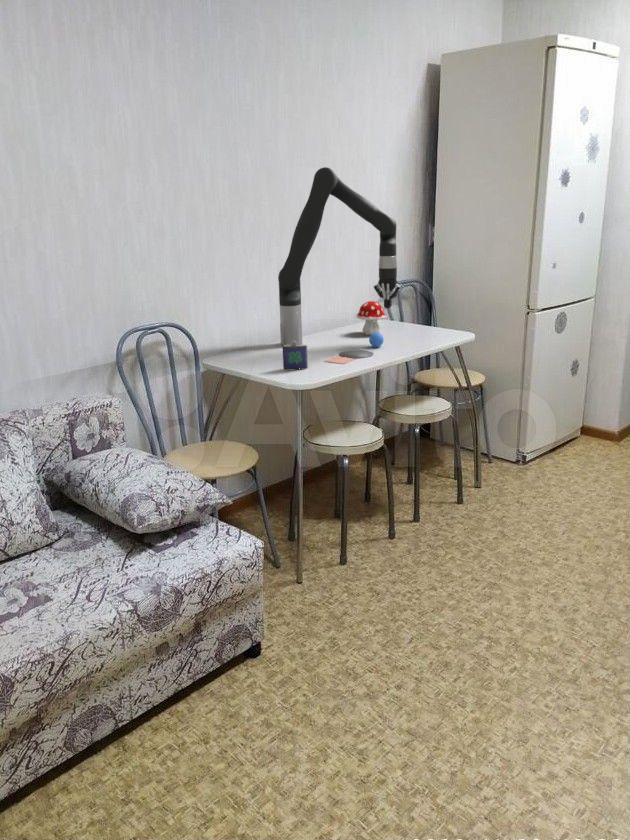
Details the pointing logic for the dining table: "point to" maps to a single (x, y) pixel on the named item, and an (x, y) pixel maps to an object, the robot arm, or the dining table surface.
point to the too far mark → (339, 360)
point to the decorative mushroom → (371, 316)
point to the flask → (295, 356)
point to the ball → (376, 339)
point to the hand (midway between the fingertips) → (387, 308)
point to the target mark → (356, 354)
